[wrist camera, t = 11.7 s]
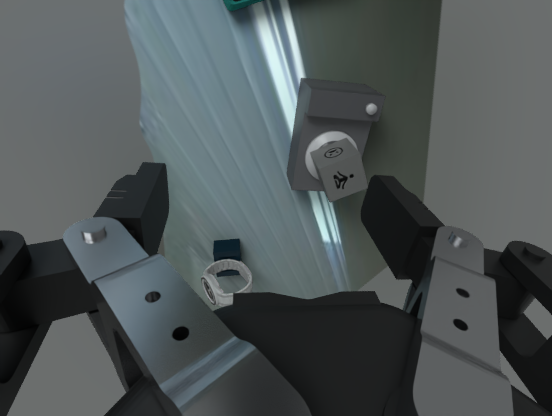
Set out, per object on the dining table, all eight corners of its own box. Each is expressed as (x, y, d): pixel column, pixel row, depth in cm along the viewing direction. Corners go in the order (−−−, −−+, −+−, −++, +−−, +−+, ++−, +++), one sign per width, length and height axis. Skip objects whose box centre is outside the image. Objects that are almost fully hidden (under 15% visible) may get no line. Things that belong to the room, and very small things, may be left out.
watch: (202, 241, 53) (196, 290, 44) (249, 237, 54) (253, 285, 45) (206, 265, 56) (202, 316, 47) (251, 261, 57) (254, 310, 48)
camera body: (300, 77, 41) (312, 90, 35) (365, 84, 42) (387, 97, 36) (286, 173, 48) (294, 197, 42) (341, 176, 50) (357, 200, 44)
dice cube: (309, 152, 40) (318, 169, 36) (346, 137, 40) (360, 152, 35) (320, 183, 43) (329, 202, 39) (354, 169, 42) (368, 187, 38)
